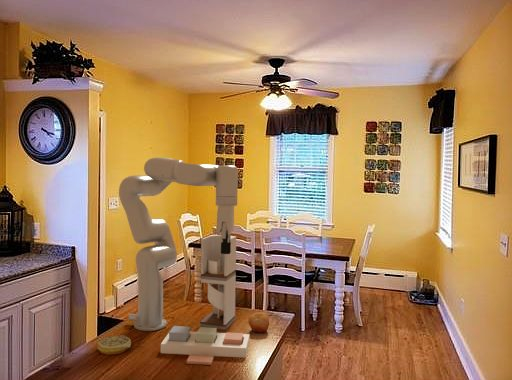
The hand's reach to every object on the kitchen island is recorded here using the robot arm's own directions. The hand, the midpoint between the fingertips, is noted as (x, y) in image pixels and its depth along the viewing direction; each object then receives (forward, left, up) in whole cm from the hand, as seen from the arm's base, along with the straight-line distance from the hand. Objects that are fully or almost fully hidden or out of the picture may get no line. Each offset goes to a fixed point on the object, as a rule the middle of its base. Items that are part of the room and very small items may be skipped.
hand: (225, 253), depth 149 cm
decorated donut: (-37, -7, -34) cm, 50 cm away
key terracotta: (+4, -2, -32) cm, 32 cm away
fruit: (+11, +16, -33) cm, 39 cm away
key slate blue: (-16, -2, -30) cm, 34 cm away
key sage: (-6, -2, -30) cm, 31 cm away
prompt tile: (-6, -12, -33) cm, 36 cm away
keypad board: (-6, -2, -33) cm, 34 cm away
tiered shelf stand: (-6, +22, -33) cm, 40 cm away
